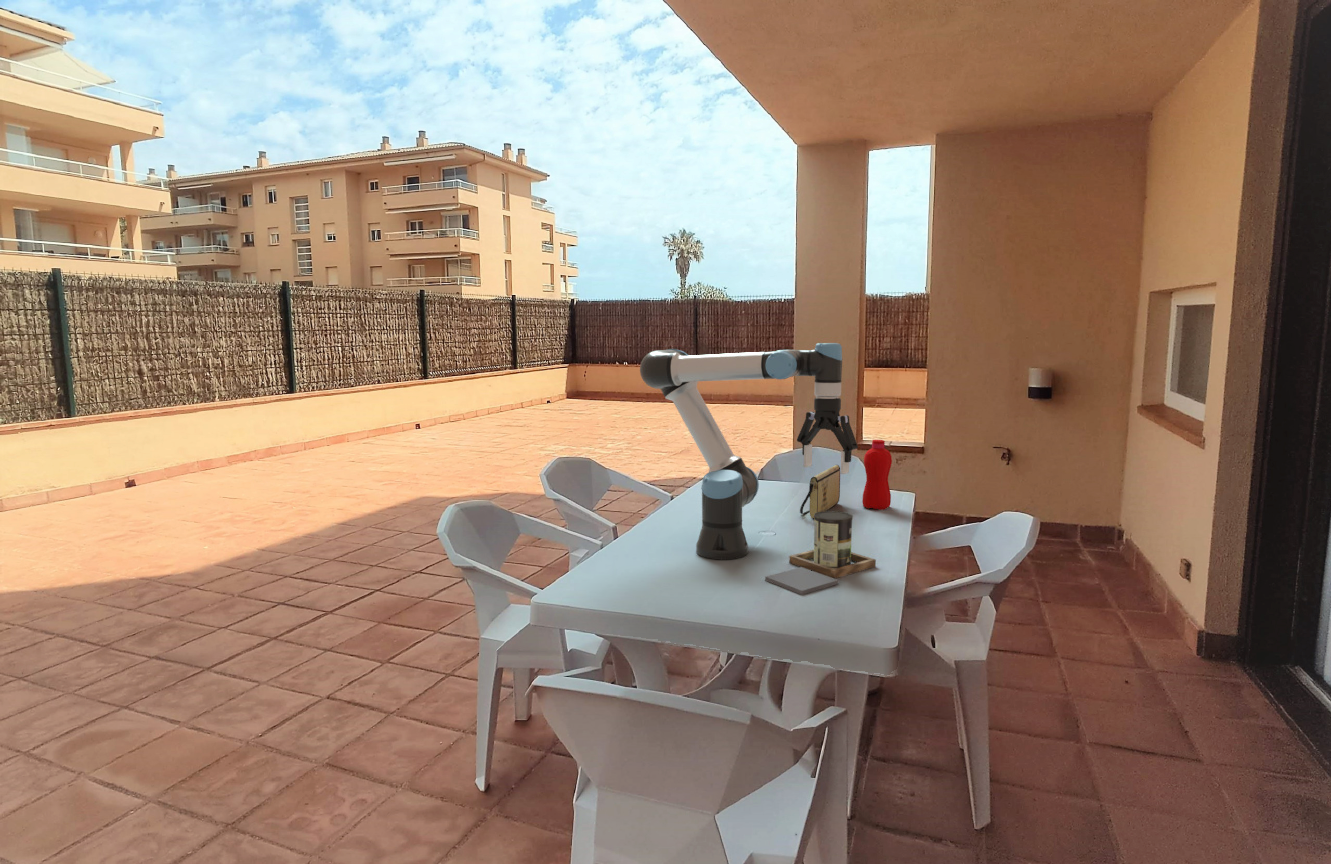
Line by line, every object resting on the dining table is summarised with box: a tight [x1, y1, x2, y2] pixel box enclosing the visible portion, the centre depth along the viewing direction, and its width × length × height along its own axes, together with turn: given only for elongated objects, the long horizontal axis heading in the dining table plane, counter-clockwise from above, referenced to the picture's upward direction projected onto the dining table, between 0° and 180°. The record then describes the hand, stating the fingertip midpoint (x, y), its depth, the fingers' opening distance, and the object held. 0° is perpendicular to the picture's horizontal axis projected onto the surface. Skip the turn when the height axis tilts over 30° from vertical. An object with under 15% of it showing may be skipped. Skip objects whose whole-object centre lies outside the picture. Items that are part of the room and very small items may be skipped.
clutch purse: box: [799, 464, 841, 519], centre depth 259 cm, size 30×7×15 cm, turn 149°
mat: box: [764, 566, 839, 595], centre depth 185 cm, size 13×13×1 cm
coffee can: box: [813, 510, 854, 569], centre depth 198 cm, size 10×10×14 cm
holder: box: [788, 549, 877, 579], centre depth 199 cm, size 16×16×2 cm
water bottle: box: [861, 439, 893, 511], centre depth 263 cm, size 9×11×25 cm
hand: (825, 470), depth 209 cm, fingers open, 13 cm apart
